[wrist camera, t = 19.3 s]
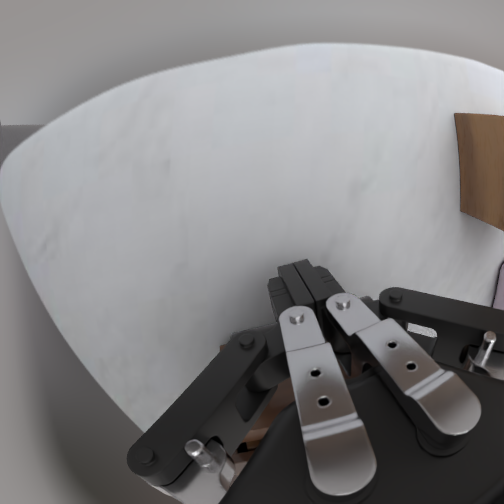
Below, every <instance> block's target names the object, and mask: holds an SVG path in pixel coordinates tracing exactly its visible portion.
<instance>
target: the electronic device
mask: <svg viewBox="0 0 504 504" xmlns="http://www.w3.org/2000/svg"><path fill="white" fill-rule="evenodd" d="M493 308H496V309H501V310H504V264H503V265H502V267H501V270H500V275H499V281H498V286H497V291H496V296H495V300H494V304H493Z"/></svg>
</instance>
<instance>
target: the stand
mask: <svg viewBox="0 0 504 504" xmlns="http://www.w3.org/2000/svg"><path fill="white" fill-rule="evenodd" d="M454 115H455V121H456V129H457V137H458V147H459V160H460V181H461V210H460V211H461V212H464V213H466V214H468V215H470V216H473V217H475V218H477V219H479V220H482V221H484V222H486V223H488V224H490V225H492V226H494V227H496V228H498V229H500V230H502V231H504V116H499V115H487V114H470V113H454Z"/></svg>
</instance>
